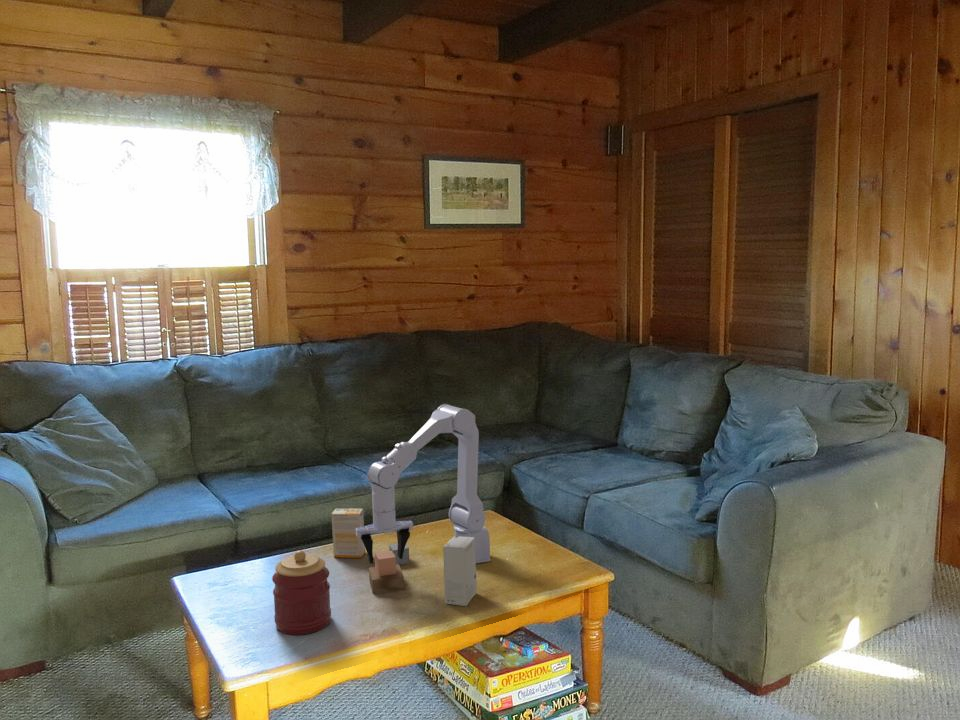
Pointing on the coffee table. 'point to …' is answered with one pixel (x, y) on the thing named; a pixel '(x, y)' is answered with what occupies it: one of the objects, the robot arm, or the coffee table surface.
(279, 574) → the canister
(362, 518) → the supplement box
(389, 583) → the walnut block
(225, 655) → the coffee table surface
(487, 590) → the coffee table surface
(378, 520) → the robot arm
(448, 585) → the skincare box
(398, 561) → the slate grey cube
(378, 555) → the terracotta cube
